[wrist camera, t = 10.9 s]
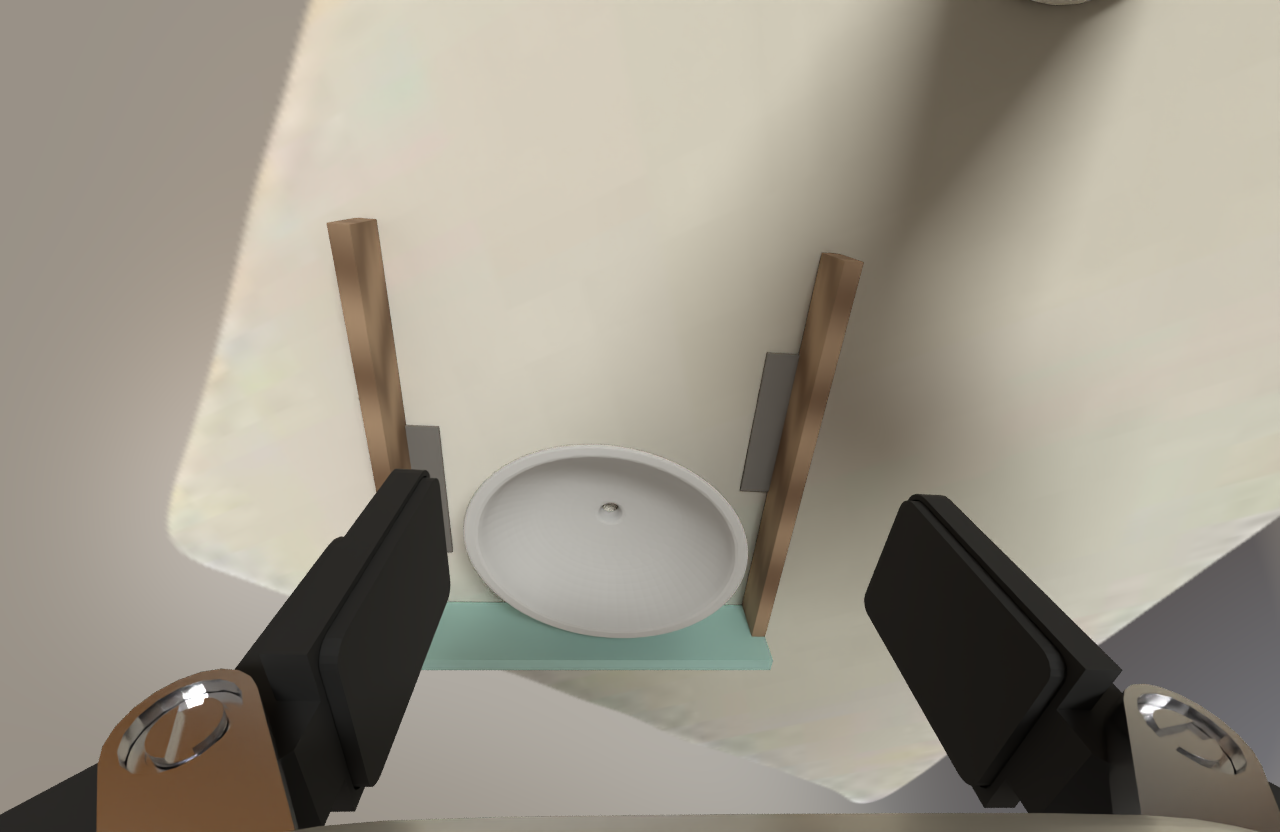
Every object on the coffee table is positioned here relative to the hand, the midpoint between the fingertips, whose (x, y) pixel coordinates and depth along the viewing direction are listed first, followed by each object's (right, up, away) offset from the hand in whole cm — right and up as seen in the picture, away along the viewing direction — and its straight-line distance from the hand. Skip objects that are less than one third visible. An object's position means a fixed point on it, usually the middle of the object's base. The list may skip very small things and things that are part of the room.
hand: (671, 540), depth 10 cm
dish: (-3, -3, +25) cm, 25 cm away
